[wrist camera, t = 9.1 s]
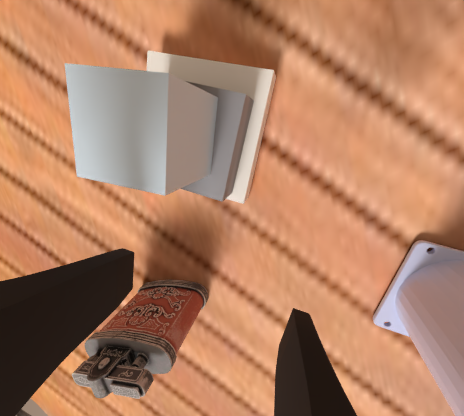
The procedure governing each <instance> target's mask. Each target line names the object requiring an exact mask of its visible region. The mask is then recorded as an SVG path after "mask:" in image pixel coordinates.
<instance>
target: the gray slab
mask: <svg viewBox="0 0 464 416" xmlns="http://www.w3.org/2000/svg"><path fill="white" fill-rule="evenodd" d="M186 82H187V81H186ZM188 83H190V84H192V85H194V86H196V87H198V88H200V89H202V90H204V91H206V92H208V93H210V94H212V95H214V96H216V97H218V103H217V113H216V124H215V134H214V144H213V154H212V164H211V174H210V175H208V176H206V177H204V178H202V179H199V180H197V181H195V182H193V183H191V184H189V185H187V186H184V187H182V188H180V189H184V190H187V191H190V192H193V193H196V194H200V195H203V196H206V197H209V198H212V199H216V200H219V201H224V200H225V199H226V198H227V197H228V196H229V195H230V194H231V193H232V192H233V188H234V183H235V179H236V175H237V171H238V167H239V162H240V158H241V154H242V150H243V145H244V141H245V137H246V132H247V128H248V124H249V120H250V115H251V111H252V107H253V103H254V100H253V99H251V98H250V97H249V96H248V95H246V94H243V93H238V92H234V91H229V90H225V89H220V88H215V87H211V86H206V85H201V84H197V83H192V82H188Z"/></svg>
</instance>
